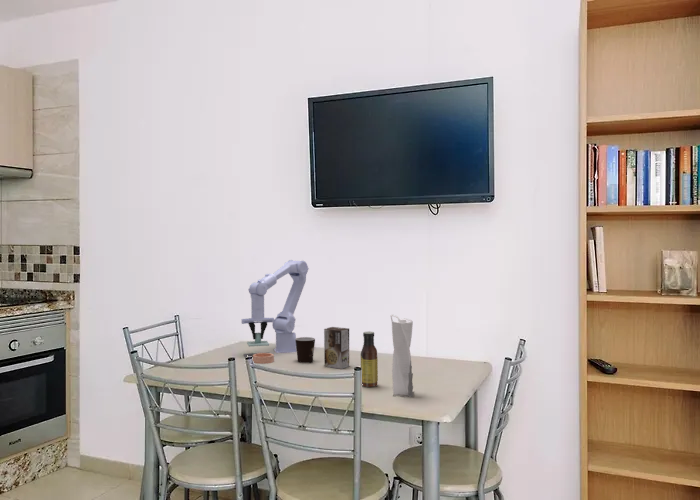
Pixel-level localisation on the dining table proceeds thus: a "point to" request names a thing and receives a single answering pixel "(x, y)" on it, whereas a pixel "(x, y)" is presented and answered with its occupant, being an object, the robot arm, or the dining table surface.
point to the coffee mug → (305, 349)
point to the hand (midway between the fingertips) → (257, 338)
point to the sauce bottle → (369, 361)
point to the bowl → (263, 358)
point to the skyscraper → (402, 358)
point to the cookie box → (336, 347)
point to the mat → (250, 354)
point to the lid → (258, 341)
